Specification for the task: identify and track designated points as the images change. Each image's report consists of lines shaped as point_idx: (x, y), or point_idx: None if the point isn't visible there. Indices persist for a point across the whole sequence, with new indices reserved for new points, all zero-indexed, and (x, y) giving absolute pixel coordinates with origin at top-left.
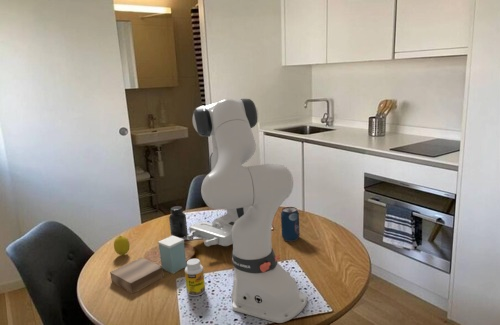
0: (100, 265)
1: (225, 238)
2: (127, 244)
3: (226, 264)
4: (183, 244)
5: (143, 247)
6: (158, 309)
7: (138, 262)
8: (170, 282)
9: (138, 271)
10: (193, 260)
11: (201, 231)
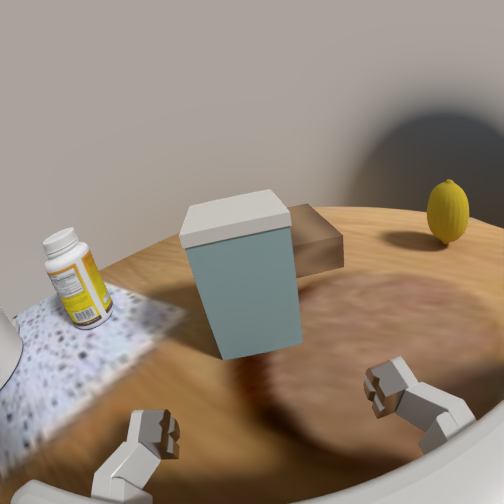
0: (405, 219)
1: (26, 486)
2: (439, 212)
3: (74, 458)
4: (189, 260)
5: (486, 279)
6: (137, 263)
7: (312, 230)
8: (185, 295)
9: None
10: (58, 236)
11: (372, 480)
